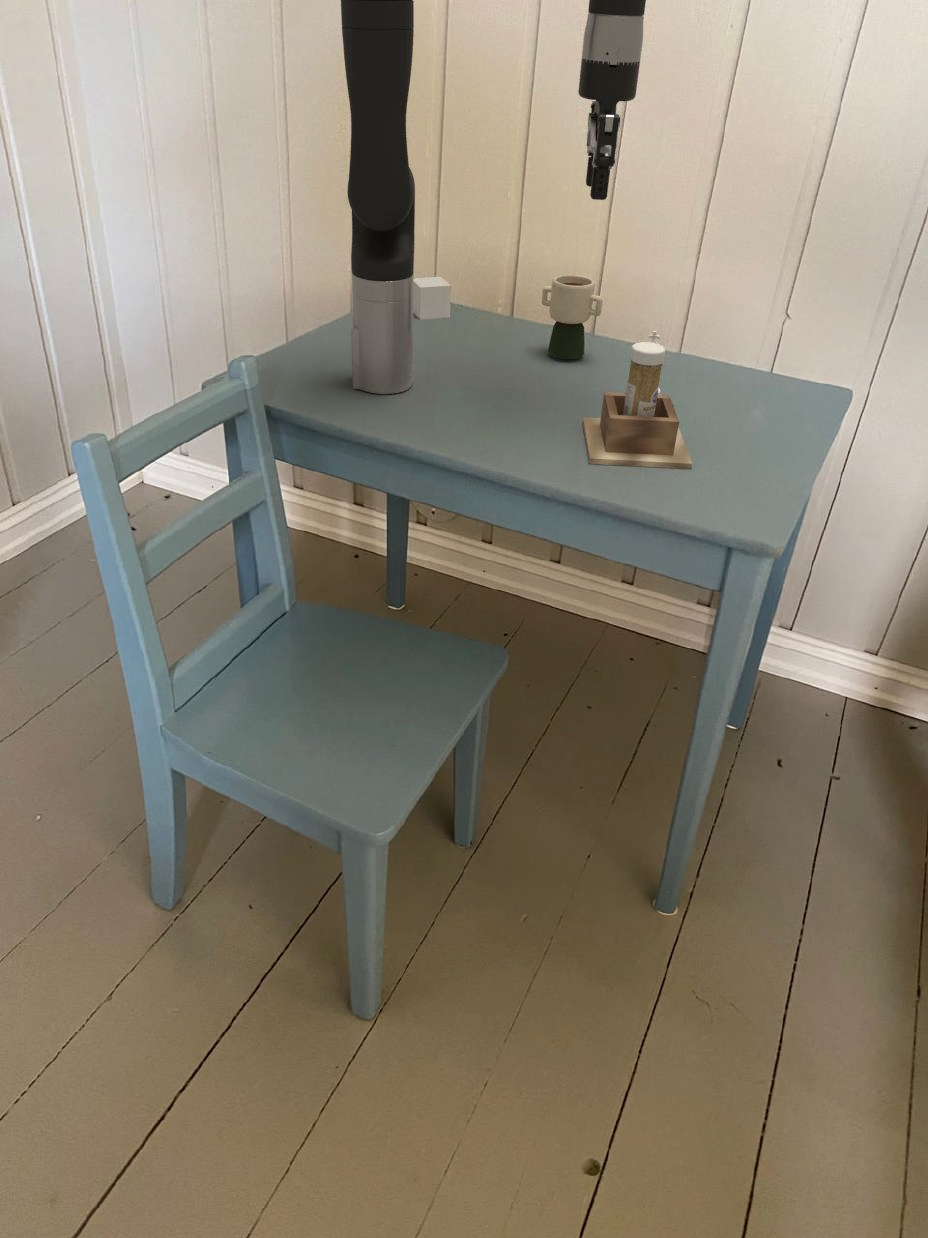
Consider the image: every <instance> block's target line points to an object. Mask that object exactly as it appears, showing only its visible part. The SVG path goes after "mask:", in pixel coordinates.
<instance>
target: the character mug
mask: <svg viewBox="0 0 928 1238" xmlns="http://www.w3.org/2000/svg"><path fill="white" fill-rule="evenodd" d="M595 287H596V283H595V280H594V279H592V278H591V277H589V276H584V275H582V274H581V275H579V274H561V275H556V276H554V277H553V278H552V282H551V286H550V285H543V288H542V292H541V293H542V295H541V305H543V306H545V307H549V315H550V319H552V320H554V321H555V322H554V324H553V326H552V331H551V335H550V339H549V343H548V349H547V351H548V353H549V355H551V356H552V357H554V358H556V359H562V360H565V359H566V360H572V359H576V358H579V357H583V356H584V355H585V326H584V323H586V322H588V321H589V320H590V318H591V316H593V317H594V316H595V317H600V316H601V315H602V308H603V297H602V296H600V295H595ZM549 293H550V300H549V299H548V295H549ZM594 302H596V305H595V307H596V308H595V309H593V305H594V304H593V303H594Z"/></svg>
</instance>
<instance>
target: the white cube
mask: <svg viewBox="0 0 928 1238" xmlns="http://www.w3.org/2000/svg"><path fill="white" fill-rule="evenodd" d="M451 295H452V285H451V284H450V283H449V282H447V280H445V279H444V278H443V277H441V276H434V277H433V276H432V277H431V276H430V277H418V278H417V277H416V278H414V289H413V315H415V316H416V317H417V318H418V319H419V320H431V319H433V320H434V319H444V318H450V317H451V302H452V301H451Z"/></svg>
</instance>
